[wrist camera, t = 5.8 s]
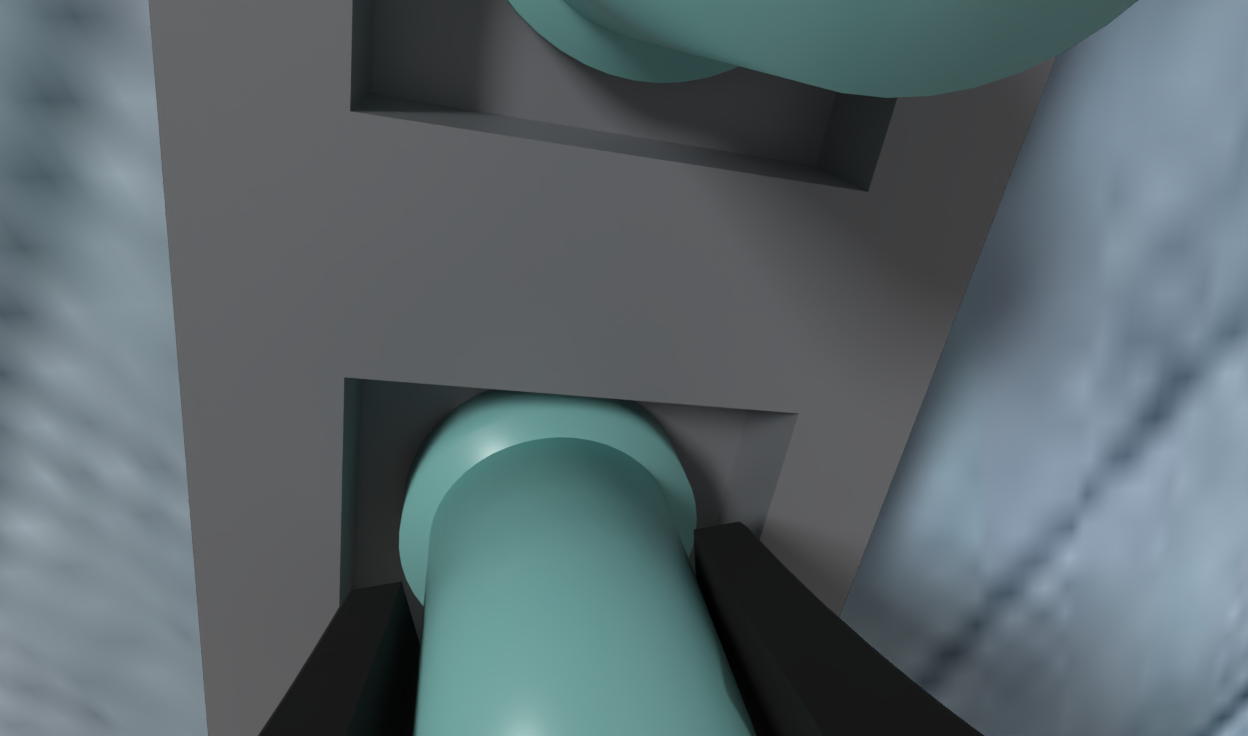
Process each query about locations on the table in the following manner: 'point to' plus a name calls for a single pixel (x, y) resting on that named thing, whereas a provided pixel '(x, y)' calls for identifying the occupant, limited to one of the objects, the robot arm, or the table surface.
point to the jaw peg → (559, 576)
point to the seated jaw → (820, 39)
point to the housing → (533, 285)
